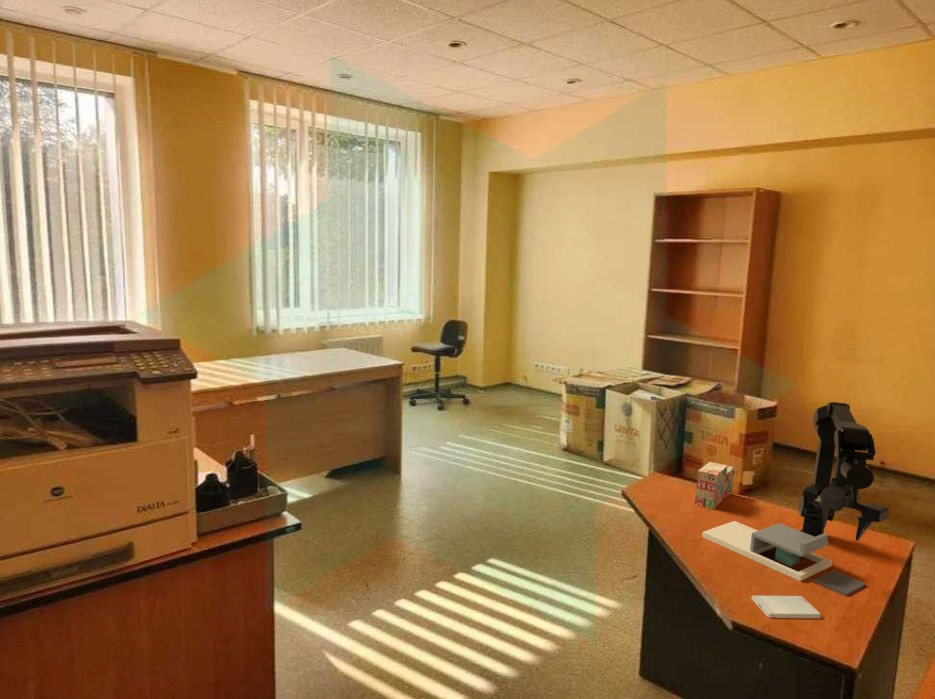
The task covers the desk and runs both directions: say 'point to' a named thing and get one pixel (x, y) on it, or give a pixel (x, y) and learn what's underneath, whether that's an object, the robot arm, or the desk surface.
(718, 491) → the stack of blocks
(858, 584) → the mat
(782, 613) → the hard drive
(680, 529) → the desk surface
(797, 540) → the cover
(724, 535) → the white flat frame
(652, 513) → the desk surface
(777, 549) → the block
